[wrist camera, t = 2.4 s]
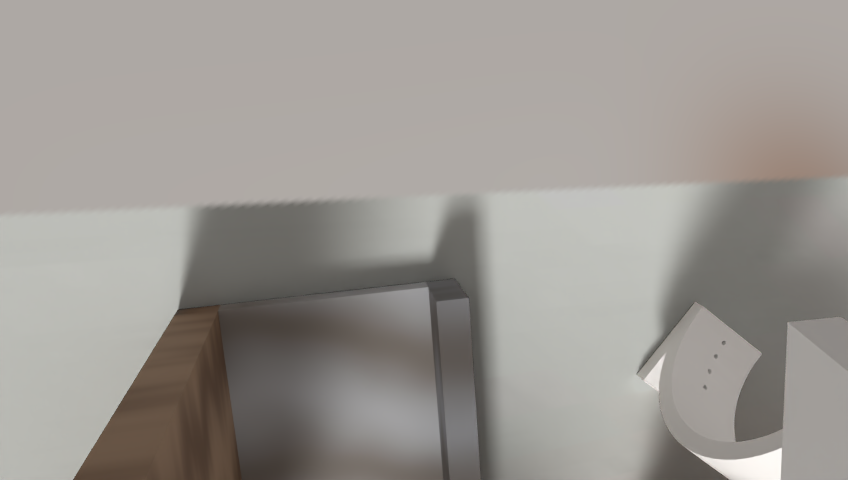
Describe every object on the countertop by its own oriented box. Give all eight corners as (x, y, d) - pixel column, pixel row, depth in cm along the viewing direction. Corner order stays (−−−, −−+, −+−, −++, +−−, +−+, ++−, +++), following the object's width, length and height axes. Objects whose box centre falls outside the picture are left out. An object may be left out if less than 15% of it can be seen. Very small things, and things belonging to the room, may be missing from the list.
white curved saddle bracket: (753, 348, 40) (931, 454, 29) (683, 433, 41) (831, 571, 29) (695, 300, 39) (855, 391, 28) (623, 389, 40) (751, 514, 28)
